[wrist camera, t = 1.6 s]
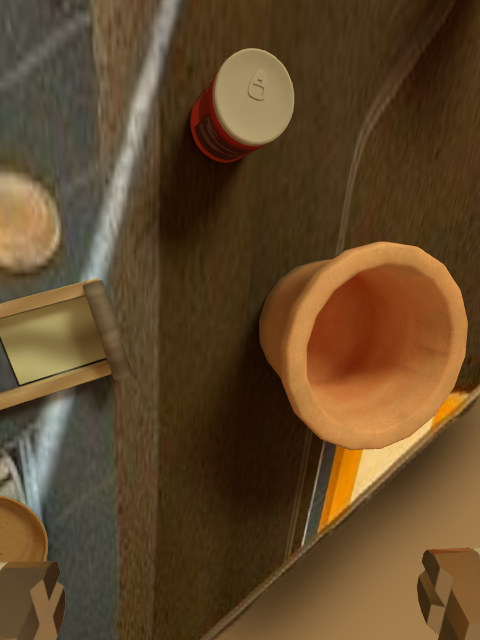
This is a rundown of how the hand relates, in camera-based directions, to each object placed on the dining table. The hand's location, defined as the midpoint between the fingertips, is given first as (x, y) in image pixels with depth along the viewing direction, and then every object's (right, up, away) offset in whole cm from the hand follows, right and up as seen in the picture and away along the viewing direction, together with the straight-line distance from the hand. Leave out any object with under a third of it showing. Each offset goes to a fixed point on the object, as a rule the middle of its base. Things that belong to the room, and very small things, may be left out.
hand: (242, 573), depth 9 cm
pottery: (+10, +5, +47) cm, 48 cm away
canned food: (-2, +28, +38) cm, 47 cm away
